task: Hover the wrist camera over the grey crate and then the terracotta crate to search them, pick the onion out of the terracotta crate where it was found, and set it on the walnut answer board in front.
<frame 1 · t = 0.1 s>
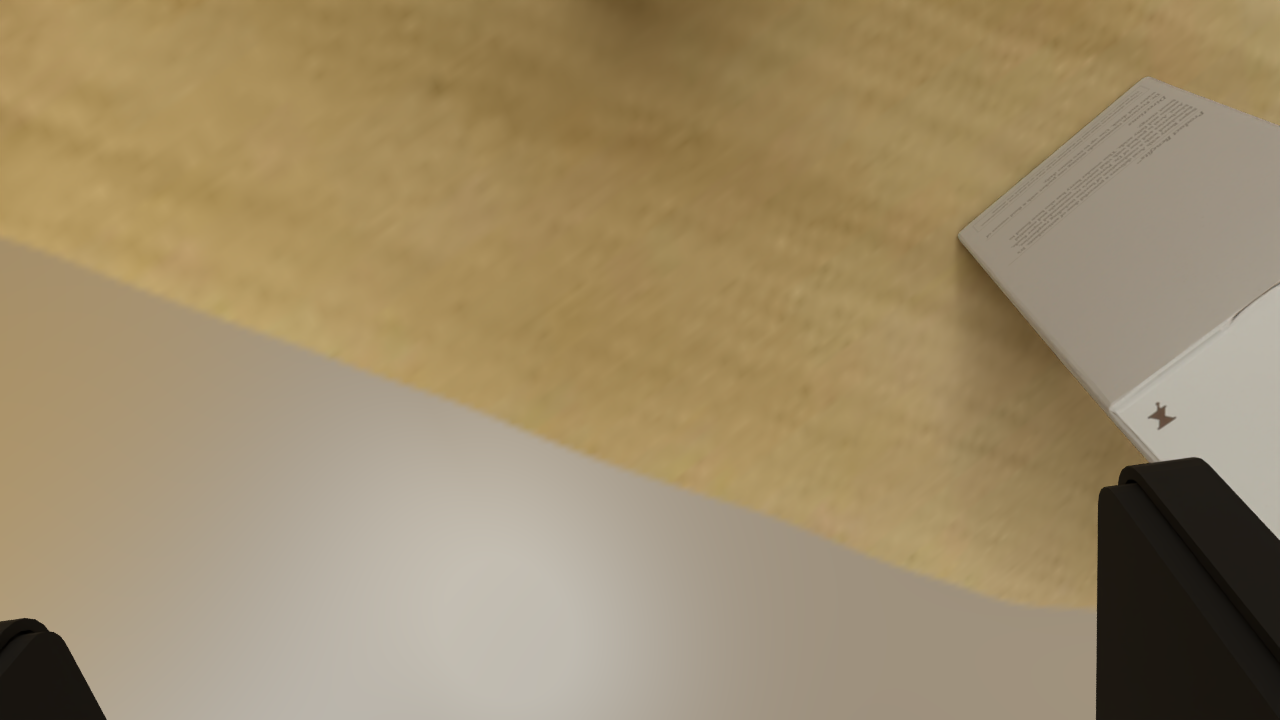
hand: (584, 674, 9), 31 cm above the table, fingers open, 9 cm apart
supplement box: (1112, 232, 40), on the table
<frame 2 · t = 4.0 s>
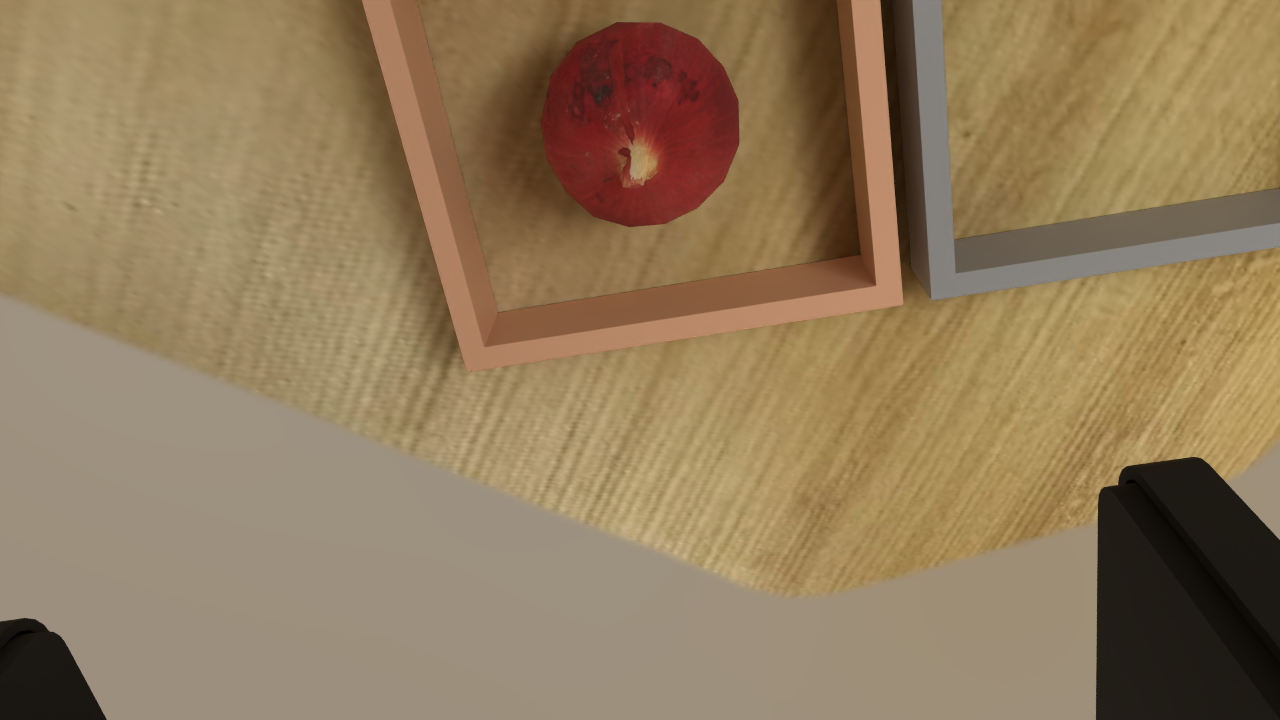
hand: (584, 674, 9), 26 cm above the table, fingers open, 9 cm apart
onion: (643, 99, 33), resting in terracotta crate
grey crate: (1132, 13, 31), on the table
terracotta crate: (643, 101, 33), on the table
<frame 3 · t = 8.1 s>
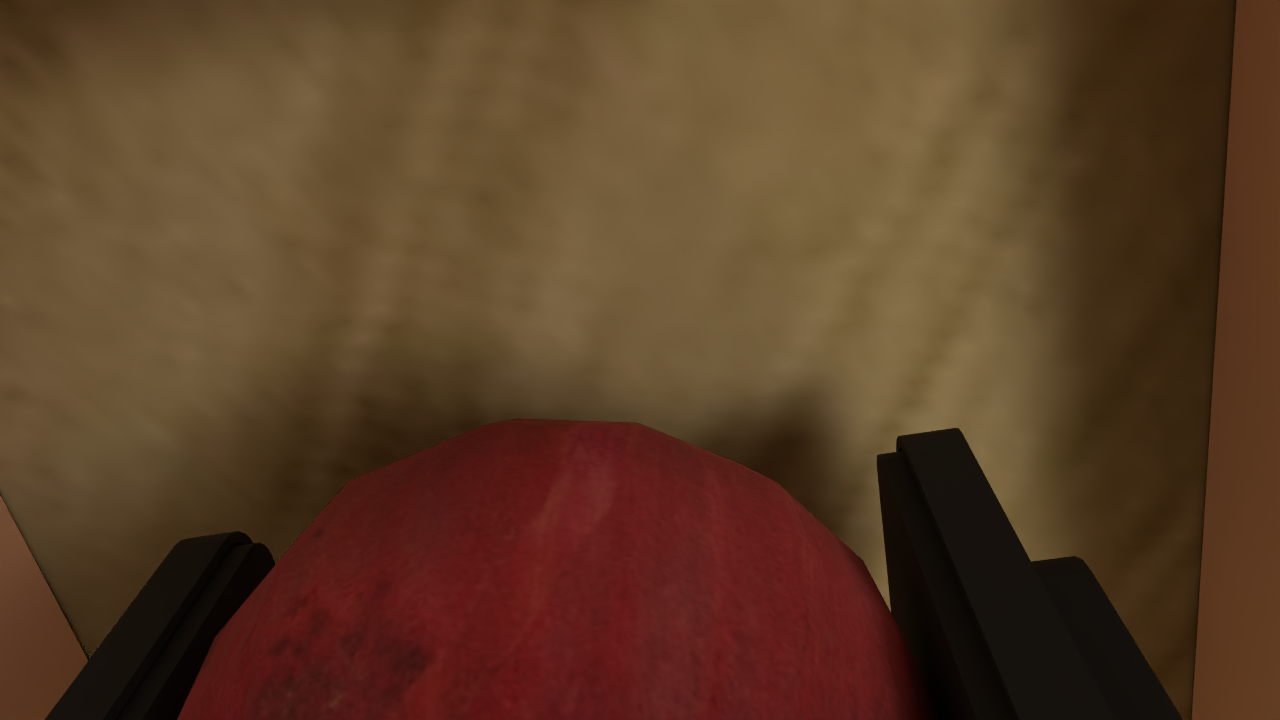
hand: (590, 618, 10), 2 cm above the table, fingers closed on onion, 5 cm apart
onion: (599, 515, 11), resting in terracotta crate, touching gripper
terracotta crate: (599, 526, 11), on the table
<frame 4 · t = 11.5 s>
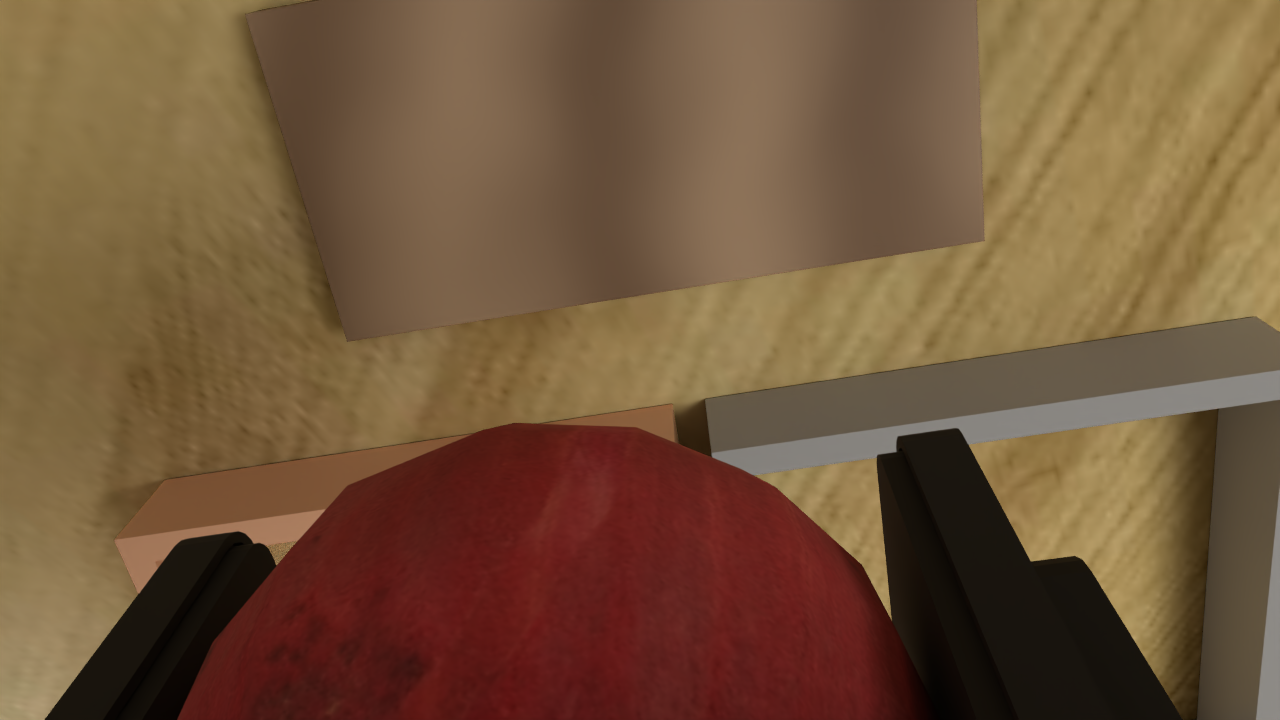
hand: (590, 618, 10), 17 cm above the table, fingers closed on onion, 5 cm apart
onion: (598, 519, 11), point 15 cm above the table, touching gripper
answer board: (631, 122, 24), on the table
grey crate: (983, 580, 30), on the table
terracotta crate: (474, 648, 31), on the table
when the fingers open (4 cm above the table, at t = 15.1 s): onion drops 1 cm, resting on answer board.
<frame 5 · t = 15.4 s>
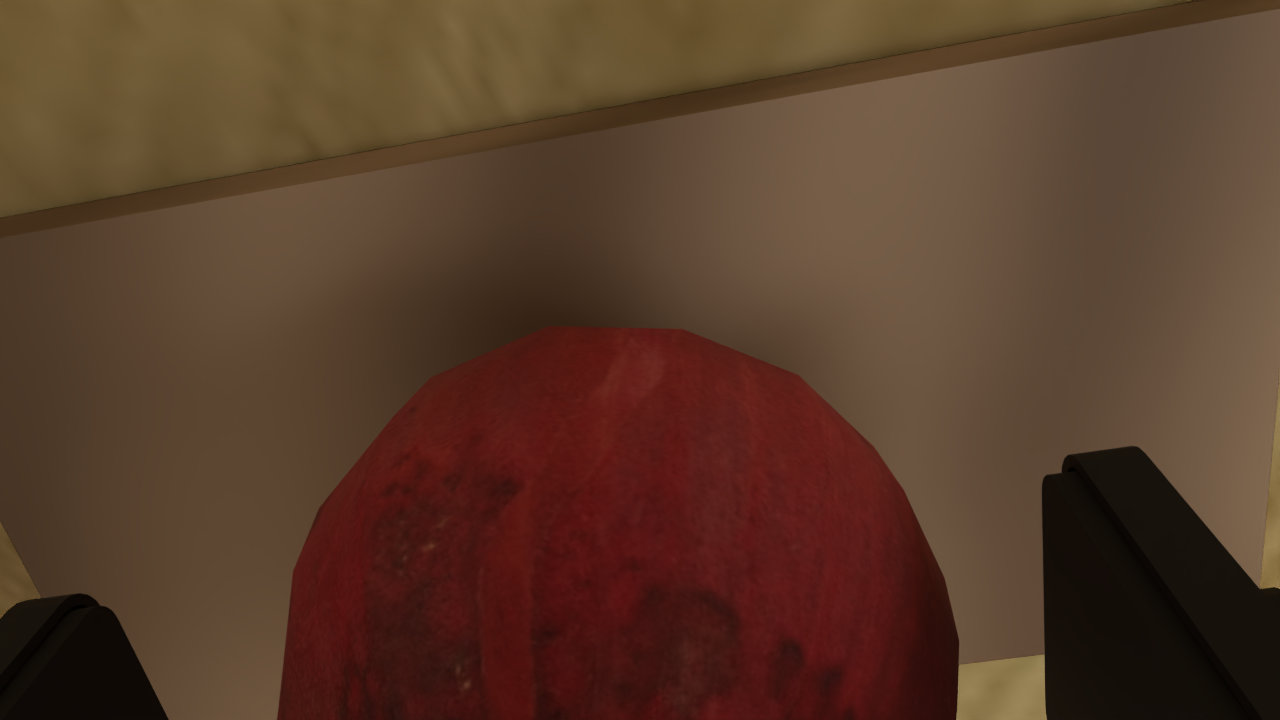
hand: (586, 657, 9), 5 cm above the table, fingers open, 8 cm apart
onion: (635, 439, 13), point 1 cm above the table, touching answer board
answer board: (611, 412, 14), on the table
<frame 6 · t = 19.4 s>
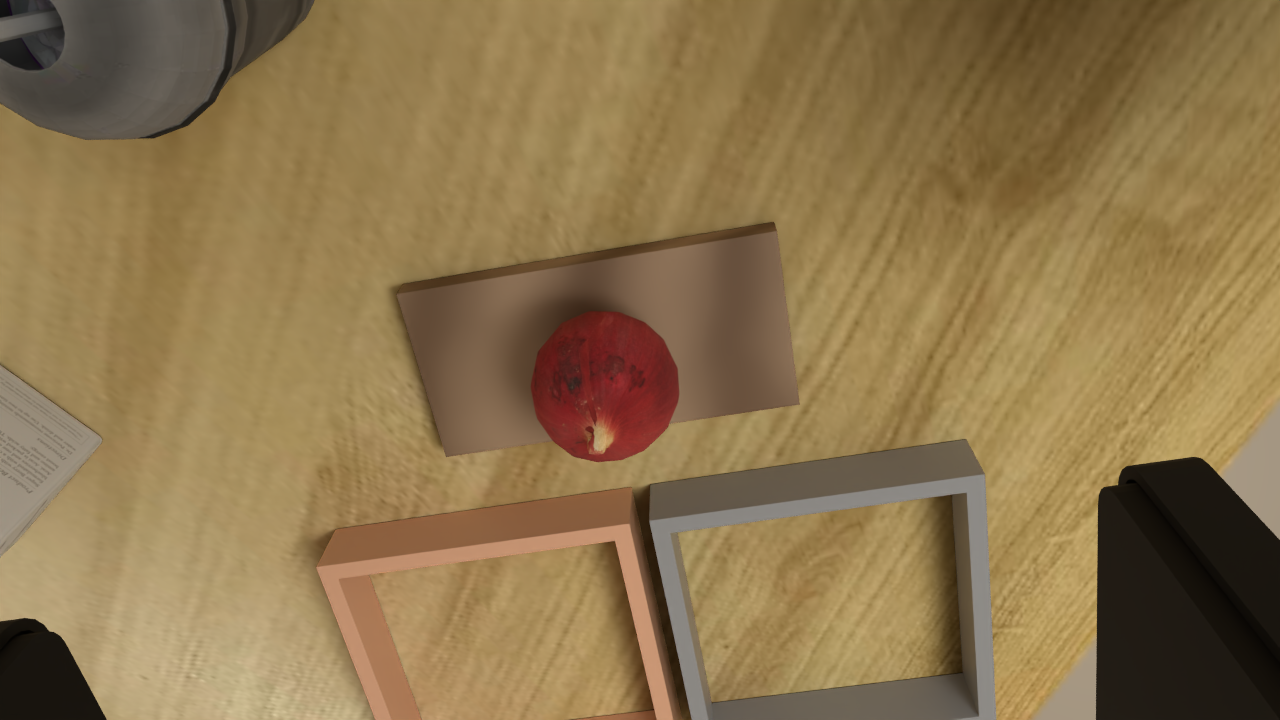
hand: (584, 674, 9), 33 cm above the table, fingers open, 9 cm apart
onion: (610, 344, 43), point 1 cm above the table, touching answer board
answer board: (603, 339, 44), on the table
grey crate: (822, 588, 50), on the table
terracotta crate: (516, 628, 51), on the table
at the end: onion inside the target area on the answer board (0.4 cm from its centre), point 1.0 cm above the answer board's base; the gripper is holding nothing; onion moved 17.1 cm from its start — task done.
